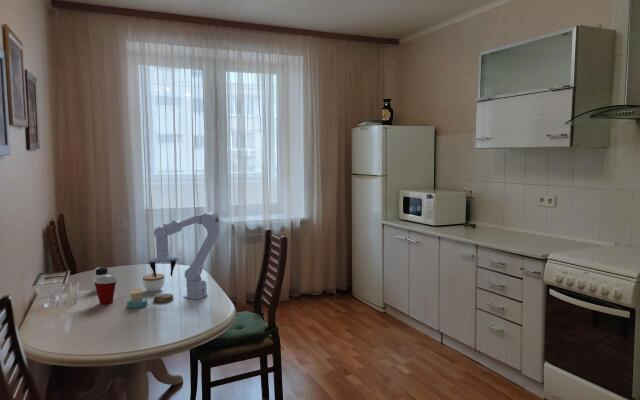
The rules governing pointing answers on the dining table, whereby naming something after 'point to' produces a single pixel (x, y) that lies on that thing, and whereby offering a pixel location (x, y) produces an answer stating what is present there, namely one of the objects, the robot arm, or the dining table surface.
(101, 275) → the medicine bottle
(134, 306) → the stand
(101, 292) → the plastic cup
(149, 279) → the lidded jar
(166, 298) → the stand
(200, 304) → the dining table surface
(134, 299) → the block
